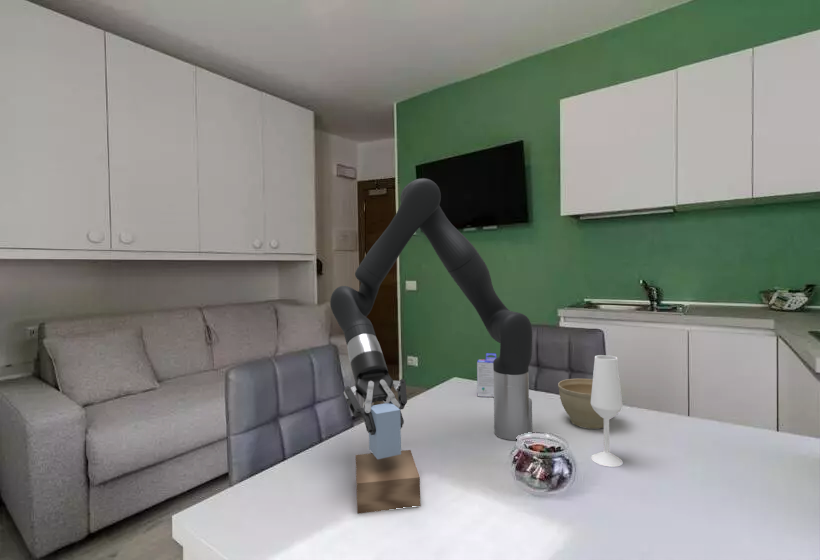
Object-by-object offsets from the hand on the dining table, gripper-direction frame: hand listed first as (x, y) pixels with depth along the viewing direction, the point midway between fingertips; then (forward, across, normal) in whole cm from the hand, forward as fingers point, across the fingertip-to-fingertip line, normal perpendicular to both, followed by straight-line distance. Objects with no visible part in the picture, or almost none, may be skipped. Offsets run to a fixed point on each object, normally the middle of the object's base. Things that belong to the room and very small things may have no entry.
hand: (387, 430), depth 83 cm
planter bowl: (+3, +65, +16) cm, 67 cm away
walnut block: (+9, 0, +11) cm, 14 cm away
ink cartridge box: (-21, +56, +40) cm, 72 cm away
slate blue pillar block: (+2, 0, +4) cm, 5 cm away
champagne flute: (+16, +51, +3) cm, 54 cm away
